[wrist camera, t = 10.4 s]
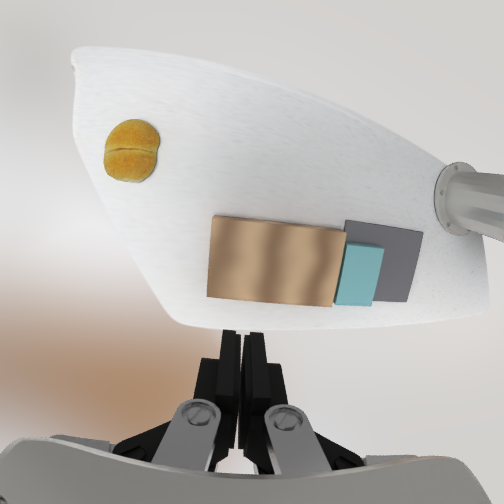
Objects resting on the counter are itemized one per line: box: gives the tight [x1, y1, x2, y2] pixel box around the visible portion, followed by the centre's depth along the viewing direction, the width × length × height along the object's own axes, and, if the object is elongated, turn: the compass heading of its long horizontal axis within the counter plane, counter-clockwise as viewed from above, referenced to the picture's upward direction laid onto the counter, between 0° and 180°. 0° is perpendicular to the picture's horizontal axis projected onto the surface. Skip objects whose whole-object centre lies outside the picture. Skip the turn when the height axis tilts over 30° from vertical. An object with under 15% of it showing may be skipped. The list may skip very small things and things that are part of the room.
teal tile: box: [333, 242, 384, 306], centre depth 40 cm, size 6×9×2 cm, turn 174°
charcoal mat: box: [344, 220, 423, 302], centre depth 41 cm, size 14×12×1 cm
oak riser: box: [207, 215, 347, 307], centre depth 40 cm, size 18×11×2 cm, turn 84°
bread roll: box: [104, 119, 159, 183], centre depth 35 cm, size 8×9×4 cm
